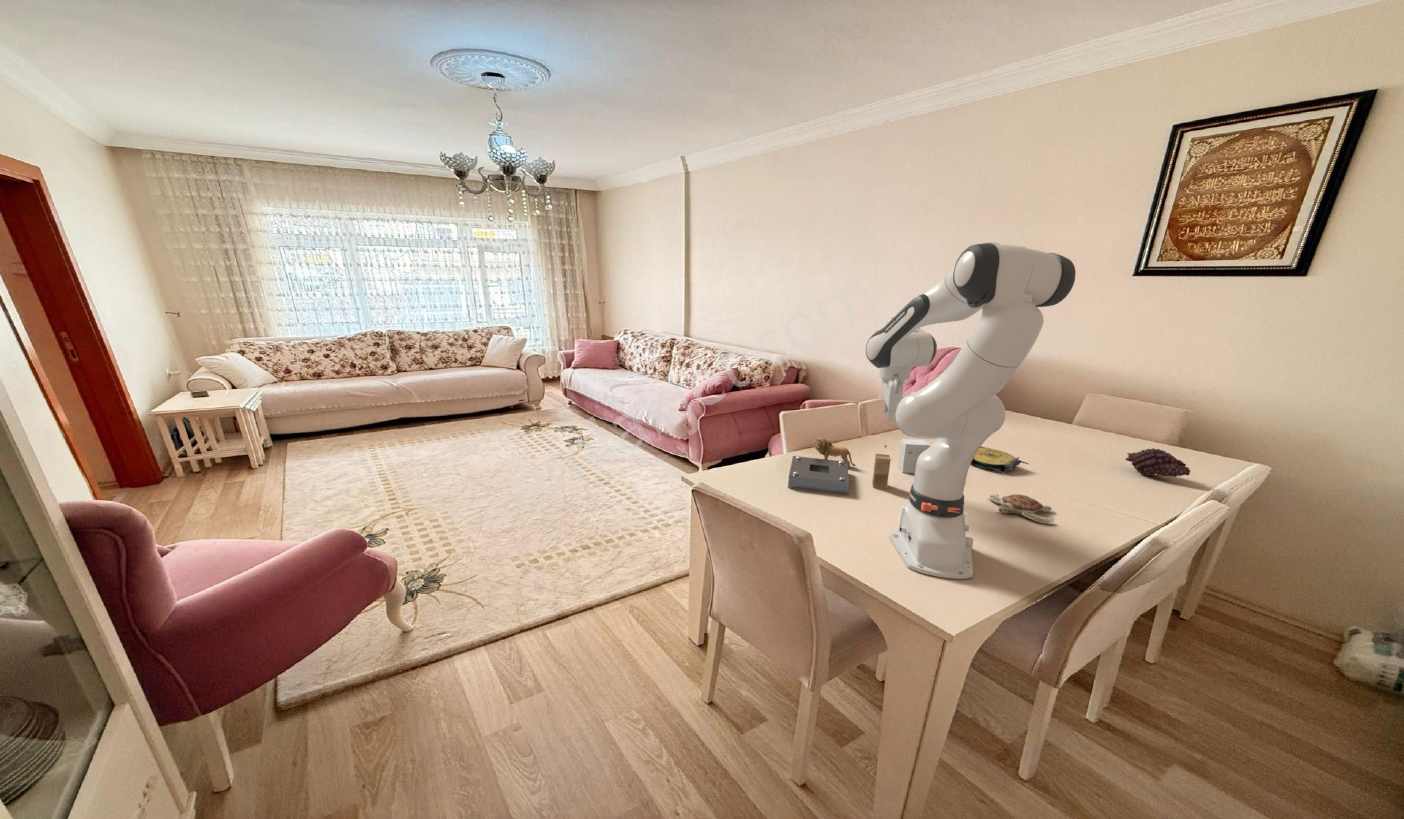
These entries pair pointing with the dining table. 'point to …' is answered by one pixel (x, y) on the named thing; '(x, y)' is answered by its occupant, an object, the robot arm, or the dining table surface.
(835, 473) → the slotted grey base block
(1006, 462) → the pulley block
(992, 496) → the decorative turtle
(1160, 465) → the pine cone
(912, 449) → the small box
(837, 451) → the lion figurine
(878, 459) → the brown wooden block
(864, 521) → the dining table surface
